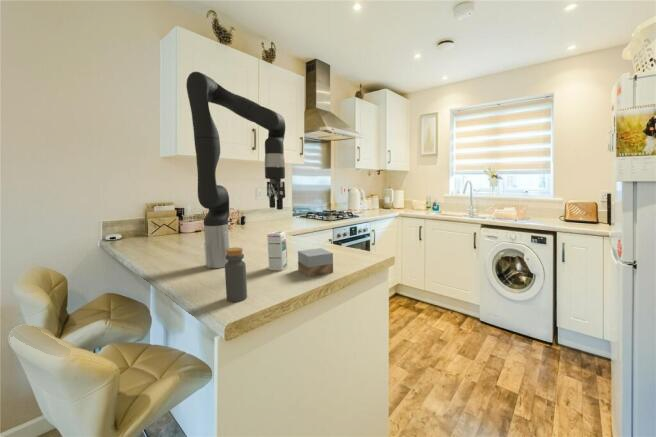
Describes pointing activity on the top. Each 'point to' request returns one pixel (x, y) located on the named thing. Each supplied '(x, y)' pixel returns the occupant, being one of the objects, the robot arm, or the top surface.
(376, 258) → the top surface
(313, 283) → the top surface
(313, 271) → the tower base block
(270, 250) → the syrup box
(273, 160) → the robot arm
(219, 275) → the top surface
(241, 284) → the bottle
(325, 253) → the tower top block
